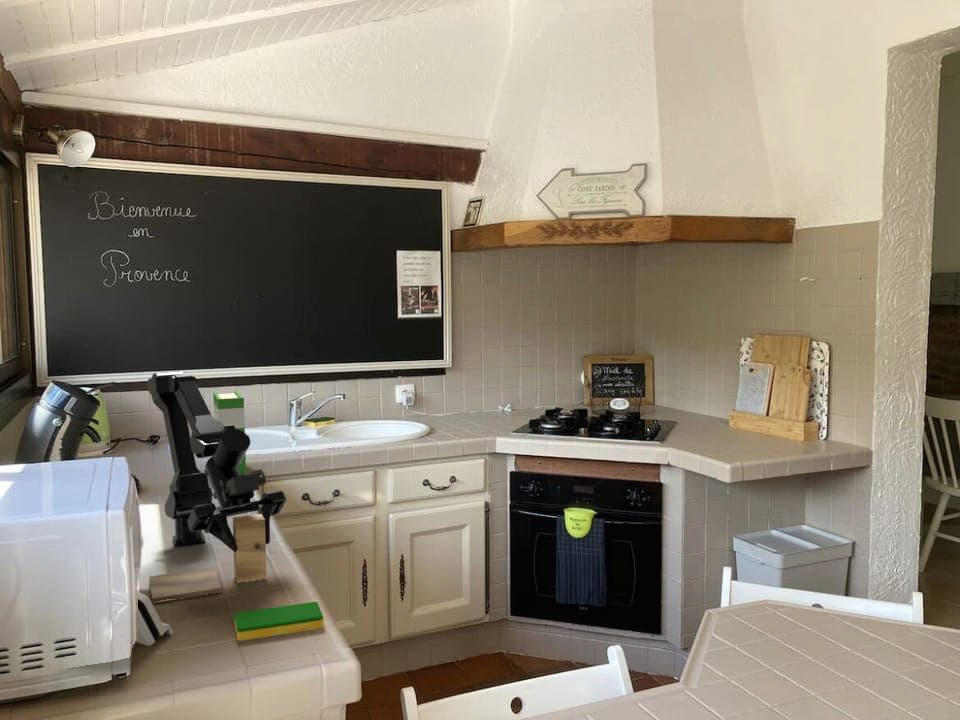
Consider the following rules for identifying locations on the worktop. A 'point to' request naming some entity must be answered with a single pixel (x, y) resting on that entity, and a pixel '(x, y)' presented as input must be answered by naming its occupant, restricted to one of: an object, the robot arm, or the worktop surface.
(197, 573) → the base board
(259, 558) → the wooden block
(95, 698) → the worktop surface
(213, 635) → the worktop surface
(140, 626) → the grey angled piece
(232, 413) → the carton
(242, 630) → the dish sponge
